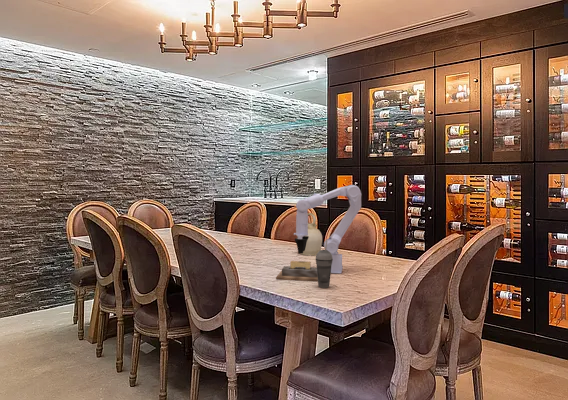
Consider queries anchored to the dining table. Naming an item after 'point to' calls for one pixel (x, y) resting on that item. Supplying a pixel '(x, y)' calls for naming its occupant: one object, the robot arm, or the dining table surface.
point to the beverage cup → (324, 267)
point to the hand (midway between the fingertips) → (301, 252)
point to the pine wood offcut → (300, 264)
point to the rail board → (298, 274)
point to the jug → (313, 238)
